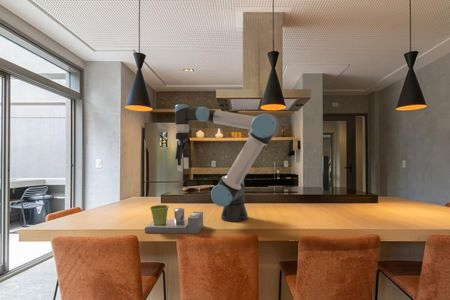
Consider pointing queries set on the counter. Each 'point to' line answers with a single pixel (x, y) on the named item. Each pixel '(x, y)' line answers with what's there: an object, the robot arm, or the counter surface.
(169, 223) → the pan
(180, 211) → the spacer
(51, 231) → the counter surface
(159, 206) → the plant pot
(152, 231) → the scale
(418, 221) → the counter surface
